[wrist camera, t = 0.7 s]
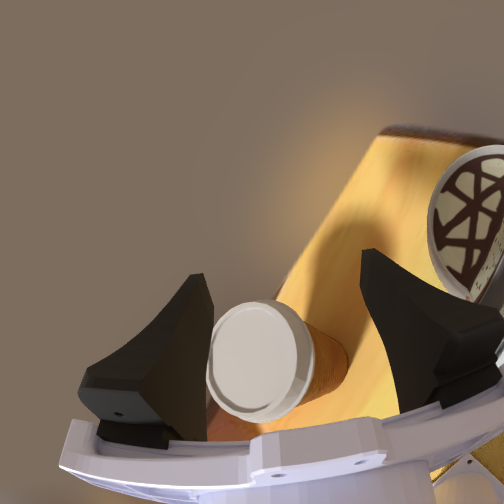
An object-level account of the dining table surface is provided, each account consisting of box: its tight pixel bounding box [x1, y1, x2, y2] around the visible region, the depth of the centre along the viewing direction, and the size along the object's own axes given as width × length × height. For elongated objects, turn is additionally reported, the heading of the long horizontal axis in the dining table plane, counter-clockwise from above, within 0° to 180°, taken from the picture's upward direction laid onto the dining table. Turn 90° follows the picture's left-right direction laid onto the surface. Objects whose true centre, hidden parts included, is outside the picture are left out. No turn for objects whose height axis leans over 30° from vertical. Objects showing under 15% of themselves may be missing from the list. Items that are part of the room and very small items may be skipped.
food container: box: [427, 145, 504, 304], centre depth 18 cm, size 12×6×10 cm, turn 133°
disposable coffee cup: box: [206, 299, 348, 423], centre depth 24 cm, size 10×10×12 cm
